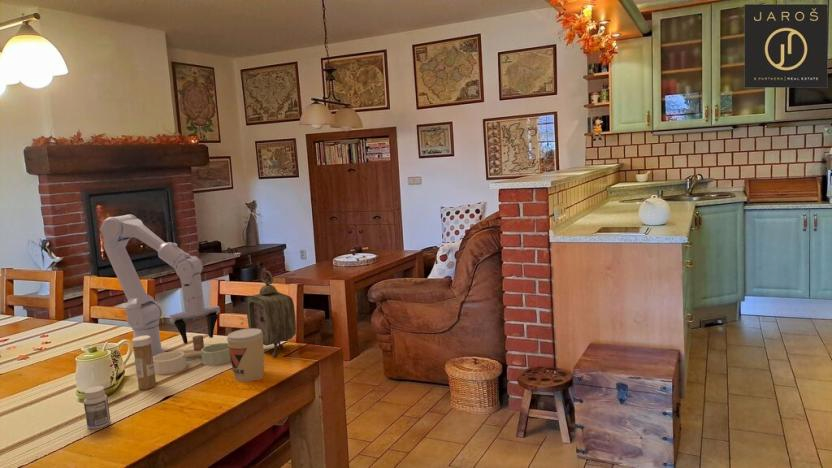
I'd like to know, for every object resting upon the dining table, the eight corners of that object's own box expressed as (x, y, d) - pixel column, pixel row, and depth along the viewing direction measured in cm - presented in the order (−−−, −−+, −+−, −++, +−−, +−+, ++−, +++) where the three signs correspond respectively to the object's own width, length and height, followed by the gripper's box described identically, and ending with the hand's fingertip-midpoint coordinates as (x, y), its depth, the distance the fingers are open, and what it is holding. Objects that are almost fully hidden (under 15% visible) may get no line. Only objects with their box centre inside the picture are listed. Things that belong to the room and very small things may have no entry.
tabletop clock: (250, 350, 185) (242, 270, 182) (277, 343, 190) (269, 265, 187) (273, 359, 174) (264, 275, 171) (300, 351, 180) (292, 269, 176)
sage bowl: (196, 363, 176) (194, 349, 175) (223, 354, 182) (221, 341, 182) (213, 368, 170) (211, 354, 169) (240, 358, 177) (239, 345, 176)
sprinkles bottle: (158, 386, 158) (152, 337, 156) (139, 391, 155) (133, 341, 154) (155, 382, 162) (148, 333, 160) (136, 386, 159) (130, 337, 157)
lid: (177, 352, 186) (175, 337, 185) (211, 344, 192) (209, 329, 191) (186, 360, 177) (184, 344, 177) (221, 351, 183) (219, 336, 183)
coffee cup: (224, 378, 161) (219, 334, 159) (255, 368, 168) (250, 326, 166) (243, 385, 154) (238, 340, 153) (274, 374, 161) (269, 331, 160)
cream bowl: (149, 369, 172) (147, 356, 172) (181, 362, 177) (180, 349, 177) (156, 377, 165) (154, 363, 164) (190, 369, 170) (188, 355, 170)
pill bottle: (92, 421, 138) (88, 386, 137) (114, 419, 138) (109, 384, 137) (83, 430, 133) (78, 394, 132) (105, 428, 134) (100, 392, 133)
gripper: (171, 303, 175) (177, 348, 177) (221, 294, 183) (226, 337, 185) (165, 300, 181) (171, 343, 182) (213, 291, 189) (218, 332, 191)
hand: (198, 340), depth 184 cm, fingers open, 7 cm apart
